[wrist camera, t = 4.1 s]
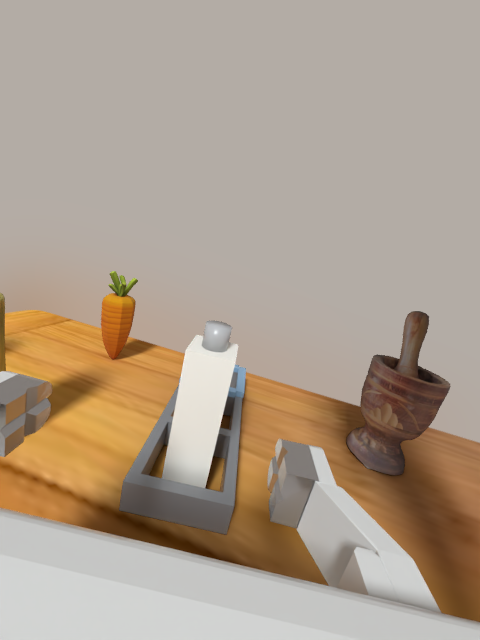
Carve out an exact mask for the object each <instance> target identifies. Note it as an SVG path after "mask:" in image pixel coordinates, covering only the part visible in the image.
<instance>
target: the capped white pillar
mask: <svg viewBox="0 0 480 640" xmlns="http://www.w3.org/2000/svg"><path fill="white" fill-rule="evenodd" d="M231 330H232V327H231V326H230V325H228V324H226V323H223V322H219V321H207V322H206V326H205V331H204V336H198V335H196V336H195V338H194V339H193V341H192V342H191V343H190V345H189V346H188V348H187V349H186V352H185V357H184V362H183V368H182V373H181V378H180V384H179V389H178V394H177V400H176V405H175V411H174V416H173V421H172V427H171V432H170V437H169V443H168V448H167V453H166V459H165V464H164V469H163V475H162V479H166V480H171V481H175V482H179V483H184V484H188V485H192V486H197V487H201V488H205V487H206V483H207V479H208V475H209V470H210V466H211V462H212V458H213V454H214V450H215V445H216V441H217V437H218V433H219V429H220V425H221V420H222V416H223V412H224V408H225V404H226V400H227V395H228V391H229V387H230V383H231V379H232V375H233V370H234V366H235V362H236V356H237V350H238V344H233V343H229V339H230V334H231Z"/></svg>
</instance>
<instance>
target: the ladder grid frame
mask: <svg viewBox="0 0 480 640" xmlns="http://www.w3.org/2000/svg"><path fill="white" fill-rule="evenodd" d="M245 374H246V368H242V367H239V365H235V366H234V370H233V375H232V379H231V383H230V387H229V391H228V395H227V400H226V404H225V408H224V412H223V414H224V415H228V416H231V417H230V424H229V430H228V429H224V428H220V429H219V433H218V437H217V441H216V445H215V450H214V454H213V456H215V457H220V458H224V459H225V460H224V467H223V474H222V481H221V488H220V492H219V491H214V490H210V489H206V488H201V487H197V486H192V485H188V484H184V483H179V482H175V481H171V480H166V479H162V478H157V477H153V476H149V474H150V472H151V470H152V468H153V466H154V464H155V461H156V459H157V457H158V455H159V453H160V451H161V449H162V447H163V445H167V446H168V443H169V437H170V432H171V427H172V421H173V416H174V411H175V405H176V400H177V394H178V389H179V385H178V387H177V389H176V390H175V392H174V394H173V396H172V397H171V399H170V401H169V403H168V404H167V406H166V408H165V410H164V411H163V413H162V415H161V417H160V418H159V420H158V422H157V423H156V425H155V427H154V429H153V430H152V432H151V434H150V436H149V437H148V439H147V441H146V443H145V444H144V446H143V448H142V449H141V451H140V453H139V455H138V456H137V458H136V460H135V462H134V463H133V465H132V467H131V469H130V470H129V472H128V474H127V476H126V477H125V479H124V481H123V486H122V493H121V500H120V507H119V510H120V511H124V512H129V513H133V514H137V515H142V516H146V517H151V518H155V519H159V520H164V521H168V522H173V523H177V524H182V525H186V526H190V527H195V528H199V529H204V530H208V531H212V532H217V533H221V534H227V530H228V527H229V523H230V520H231V516H232V513H233V509H234V503H235V489H236V476H237V463H238V449H239V436H240V422H241V409H242V398H243V396H244V390H245ZM180 378H181V377H180ZM179 383H180V380H179Z"/></svg>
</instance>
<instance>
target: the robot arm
mask: <svg viewBox="0 0 480 640" xmlns="http://www.w3.org/2000/svg"><path fill="white" fill-rule="evenodd" d="M51 394H52V384H51V383H50V382H48V381H44V380H40V379H36V378H33V377H29V376H25V375H21V374H18V373H13V372H9V371H2V372H0V456H2V457H5V456H6V455H8V454H9V453H10V452H11V451H13V450H14V449H15V448H16V447H18V446H19V445H20V444H21V443H23V442H24V437H25V436H26V435H29V434H32V433H35V432H36V431H37V430H39V429H40V428H41V427H42V426H43V425H44V423H45V422H46V420H47V419H48V417H49V414H50V410H51V404H50V402H49V401H48V399H47V398H48V397H49V396H50V395H51ZM275 451H276V456H275V457H274V458H272V460H271V463H270V466H269V472H268V490H269V491H270V493H271V496H270V499H269V511H270V521H272V522H275V523H279V524H282V525H286V526H290V527H293V528H297V531H298V533H299V535H300V537H301V538H302V540H303V542H304V544H305V545H306V547H307V549H308V550H309V552H310V554H311V556H312V557H313V559H314V561H315V563H316V564H317V566H318V568H319V570H320V571H321V573H322V575H323V576H324V578H325V580H326V582H327V583H328V585H329V586H326V585H322V584H318V583H314V582H310V581H305V580H301V579H297V578H293V577H289V576H285V575H280V574H276V573H272V572H268V571H263V570H259V569H255V568H251V567H247V566H242V565H238V564H234V563H230V562H226V561H221V560H217V559H213V558H209V557H205V556H201V555H197V554H192V553H188V552H184V551H180V550H176V549H172V548H167V547H163V546H159V545H155V544H151V543H147V542H143V541H138V540H134V539H130V538H126V537H122V536H118V535H113V534H109V533H105V532H101V531H97V530H92V529H88V528H84V527H80V526H76V525H72V524H67V523H63V522H59V521H55V520H51V519H46V518H42V517H38V516H34V515H30V514H25V513H21V512H17V511H13V510H9V509H5V508H0V640H480V622H477V621H473V620H468V619H464V618H460V617H456V616H452V615H448V614H443V613H441V611H440V609H439V607H438V605H437V603H436V602H435V600H434V598H433V596H432V594H431V592H430V590H429V588H428V586H427V585H426V583H425V581H424V579H423V577H422V575H421V573H420V571H419V570H418V568H417V566H416V564H415V562H414V560H413V559H412V558H411V557H410V556H409V555H408V554H407V553H406V552H405V551H404V550H403V549H402V548H401V547H400V546H399V545H398V544H397V543H396V542H395V541H394V540H393V539H392V538H391V537H390V536H389V535H388V534H387V533H386V532H385V531H384V530H383V529H382V528H381V527H380V526H379V525H378V524H377V523H376V522H375V521H374V520H373V519H372V518H371V517H370V516H369V515H368V514H367V512H366V511H365V510H364V509H363V508H362V507H361V506H360V505H359V504H358V503H357V502H356V501H355V500H354V499H353V498H352V497H351V496H350V495H349V494H348V493H347V492H346V491H345V490H344V489H343V488H342V487H338V486H337V485H336V482H335V480H334V477H333V475H332V472H331V469H330V467H329V464H328V461H327V459H326V456H325V453H324V451H323V449H322V448H320V447H316V446H311V445H304V444H300V443H296V442H292V441H287V440H283V439H279V440H278V442H277V444H276V447H275Z"/></svg>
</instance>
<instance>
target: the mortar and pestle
mask: <svg viewBox="0 0 480 640" xmlns="http://www.w3.org/2000/svg"><path fill="white" fill-rule="evenodd" d="M428 325H429V316H428V315H427V314H426V313H423V312H420V311H414V312H411V313H409V314H408V316H407V318H406V320H405V325H404V332H403V344H402V349H401V355H400V359H397V358H394V357H389V356H385V355H375V356H373V358H372V362H371V365H370V368H369V371H368V375H367V377H366V380H365V382H364V386H363V389H362V396H361V413H362V415H363V417H364V419H365V421H366V424H365V426H364V427H362V428H356V429H354V430H353V431H351V433H350V434H349V435H348V437H347V445H348V447H349V449H350V450H351V451H352V452H353V454H354V455H355V456H356V457H357V458H358V459H359V460H360V461H361V462H362V463H363V464H364V465H365V466H366V467H367V468H368V469H372V470H375V471H379V472H382V473H385V474H390V475H401V474H402V473H403V471H404V467H405V459H404V455H403V452H402V449H401V446H400V443H401V442H402V441H404V440H412V439H415V438H417V437H418V436H420V435H421V434H422V433H423V432H424V431H425V430H426V429H427V428H428V426H429V425H430V424H431V423H432V421H433V420H434V418H435V416H436V414H437V412H438V410H439V408H440V406H441V404H442V402H443V401H444V399H445V397H446V395H447V393H448V391H449V389H450V384H449V383H448V382H447V381H445V379H443V378H441V377H440V376H438V375H436V374H434V373H432V372H430V371H428V370H426V369H423V368H422V367H420V366H418V357H419V352H420V349H421V346H422V342H423V340H424V338H425V335H426V333H427V329H428Z"/></svg>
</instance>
